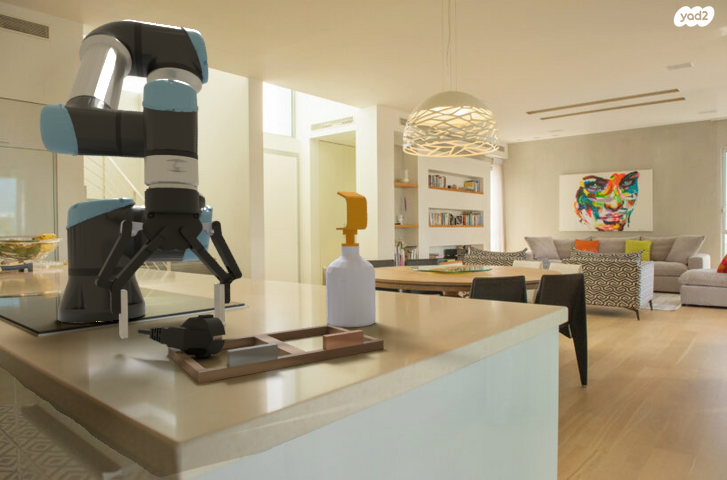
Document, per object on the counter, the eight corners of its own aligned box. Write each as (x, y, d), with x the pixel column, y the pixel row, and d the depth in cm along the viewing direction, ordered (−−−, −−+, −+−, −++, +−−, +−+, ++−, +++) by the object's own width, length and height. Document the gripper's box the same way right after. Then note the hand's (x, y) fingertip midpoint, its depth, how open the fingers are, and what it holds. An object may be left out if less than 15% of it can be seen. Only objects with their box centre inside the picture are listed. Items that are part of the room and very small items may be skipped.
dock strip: (168, 355, 64) (167, 334, 64) (329, 331, 79) (329, 313, 79) (199, 383, 52) (199, 356, 52) (383, 348, 67) (383, 327, 67)
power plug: (136, 310, 64) (199, 319, 59) (180, 307, 71) (240, 314, 66) (133, 352, 64) (196, 364, 59) (177, 345, 71) (238, 355, 65)
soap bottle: (359, 317, 93) (358, 193, 93) (384, 324, 85) (383, 189, 85) (318, 322, 88) (317, 192, 88) (341, 330, 80) (339, 187, 80)
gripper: (75, 180, 59) (78, 347, 59) (261, 189, 73) (263, 324, 74) (71, 186, 65) (74, 337, 65) (243, 193, 80) (245, 317, 80)
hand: (174, 330), depth 70 cm, fingers open, 13 cm apart
